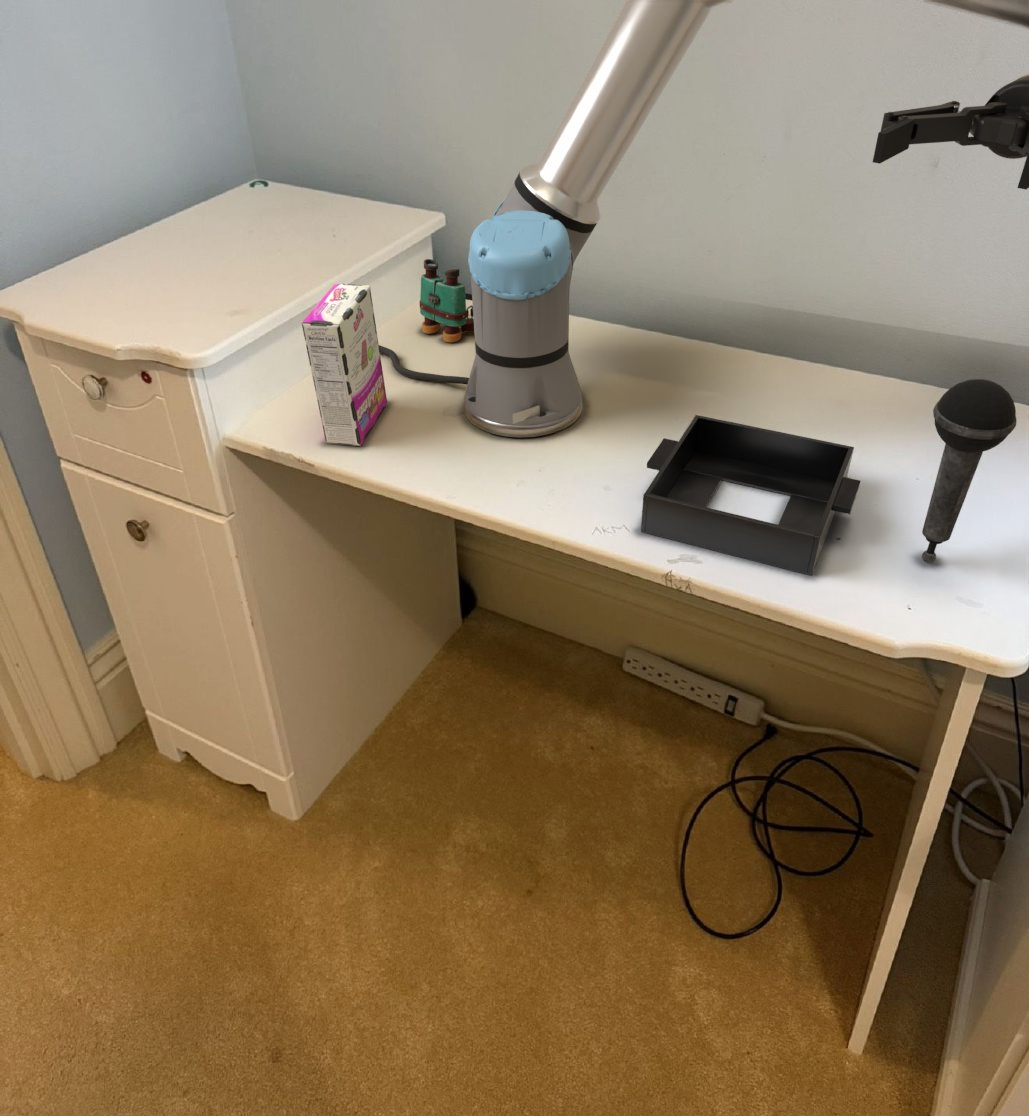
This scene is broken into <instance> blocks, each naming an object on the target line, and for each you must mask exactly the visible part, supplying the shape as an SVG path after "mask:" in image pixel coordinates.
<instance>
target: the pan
mask: <svg viewBox="0 0 1029 1116" xmlns="http://www.w3.org/2000/svg"><path fill="white" fill-rule="evenodd" d="M854 449H855V447H854V446H851V445H850V446H849V445H846V444H840V443H837V442H831V441H826V440H821V439H816V438H812V437H806V436H801V435H797V434H792V433H787V432H782V431H776V430H772V429H767V428H764V427H763V428H762V427H758V426H754V425H748V424H744V423H739V422H734V421H729V420H728V421H727V420H723V419H719V418H713V417H708V416H704V415H698V414H695V416H693V418H692V420H691V421H690V423H689V425H688V426H687V428H686V429H685V430H684V432H683V434H682V435H681V437H680V438H679V440H674V439H669V438H665V437H664V438H663V439H662V440H661V441H660V443H659V445H658V446H657V448H656V449H655V451H653V453H652V455H651V456H650V458H649V459H648V461H647V462H646V469H650V470H655V471H657V474H656V475H655V477H654V478H653V480H652V481H651V483H650V484H649V486H647V488H646V490H645V492H644V493H643V494H642V495H643V496H642V508H641V509H642V511H641V525H640V532H641V533H644V534H648V535H652V536H656V537H660V538H664V539H667V540H672V541H676V542H680V543H684V544H686V545H691V546H695V547H699V548H703V549H706V550H710V551H714V552H719V553H722V554H726V555H730V556H734V557H738V558H742V559H745V560H749V561H754V562H757V563H761V564H764V565H769V566H773V567H777V568H781V569H783V570H787V571H791V572H795V573H799V574H804V575H807V576H813V573H814V571H815V568H816V565H817V563H818V560H819V557H820V555H821V552H822V549H823V546H824V544H825V540H826V538H827V535H828V533H829V530H830V527H831V524H832V521H833V519H834V516H835V513H836V512H838V513H842V514H847V515H850V514H851V512H852V510H853V506H854V503H855V501H856V499H857V495H858V492H859V489H860V486H861V482H862V481H861V480H859V479H854V478H849V477H848V475H849V470H850V466H851V463H852V458H853V454H854ZM721 481H724V482H728V483H733V484H737V485H741V486H744V487H745V486H746V487H751V488H755V489H759V490H763V491H768V492H771V493H776V494H781V495H785V496H789V499H788V501H787V504H786V506H785V508H784V511H783V512H782V515H781V517H780V520H779V521H778V524H777V523H773V522H769V521H765V520H761V519H756V518H752V517H748V516H745V515H740V514H736V513H732V512H727V511H724V510H719V509H715V508H710V507H707V506H708V505H709V502H710V500H711V499H712V497H713V496H714V493H715V492H716V490H717V488H718V486H719V484H720V482H721Z"/></svg>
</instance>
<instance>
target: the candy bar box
mask: <svg viewBox="0 0 1029 1116" xmlns="http://www.w3.org/2000/svg"><path fill="white" fill-rule="evenodd" d="M371 292H372V291H371V285H368V284H366V285H364V284H352V283H351V284H349V283H347V284H345V283H334V284H333V285H332V286H331V288H330V289H329V290H328V291H327V292H326V293H325V294H324V296H323V297H322V298H321V299H320V300H319V301H318V303H317V304H316V305H315V306H314V307H313V308H312V309H311V310H310V312H309V313H308V314H307V315H306V317H304V318H303V320H302V321H301V322H300V323H301V327H302V332H303V337H304V341H305V342H304V343H305V346H306V353H307V357H308V363H309V367H310V371H311V372H310V373H311V376H312V380H313V385H314V391H315V397H316V400H317V401H316V402H317V405H318V410H319V415H320V420H321V425H322V429H323V430H322V431H323V436H324V440H325V443H326V444H329V445H339V446H341V445H342V446H351V447H361V446H362V445H363V443H364V442H365V440H366V439H367V437H368V435H369V434H370V433H371V430H372V429H373V427H374V425H375V424H376V422H377V420H378V419H379V417H380V416H381V414H382V412H383V411H384V409H385V407H386V406H387V405H388V399H387V392H386V386H385V377H384V372H383V365H382V360H381V359H382V357H381V353H380V351H379V345H380V344H379V337H378V331H377V325H376V318H375V317H376V316H375V311H374V310H375V309H374V304H373V298H372V297H373V296H372V293H371Z"/></svg>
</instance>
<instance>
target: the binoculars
mask: <svg viewBox="0 0 1029 1116" xmlns="http://www.w3.org/2000/svg"><path fill="white" fill-rule="evenodd" d="M438 269H439V263H438V262H437V261H436V260H434V259H431V258H426V259H424V260H423V270H425V273H424V274H422V275H421V277H420V299H419V313H420V315H421V316H423V317H424V321H423V322H422V324H421V331H422V333H424V334H430V335H431V334H435V333H437V332H438V331H440V330H441V328H442V325H444V326H445V329H444V330H442V340H443V341H444V342H446V343H454V342H457V341H459V340H461V338H462V333H466V332H474V318H473V304H472V305H471V304H470V305H469V306H468V307H467V301H472V293H468V292H466V287H465V284H464V283H462V282H459V280H458V279H459V277H460V268H453V269H449V270H445V271H444V276H445V279H446V280H444V279H443V277H442V276H440V275H438V274H437V272H438V271H437V270H438ZM469 309H470V310H469ZM469 312H470V313H469ZM469 315H470V317H469Z"/></svg>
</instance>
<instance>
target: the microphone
mask: <svg viewBox="0 0 1029 1116" xmlns="http://www.w3.org/2000/svg"><path fill="white" fill-rule="evenodd" d="M932 413H933V415H932V416H933V419H934V427H935V430H936V432H937V435H938V437H940V439H941V440H942V442H943V443H945V445H944V448H943V452H942V456H941V460H940V464H939V467H938V470H937V474H936V478H935V482H934V486H933V489H932V493H931V495H930V496H931V497H930V501H929V504H928V508H927V511H926V516H925V519H924V523H923V527H922V530H921V532H922V535H923V537H924V538H925V540H926V541H927V542H929V543H928V545H927V549H926V550H924V551H923V552H922V554H921V559H922V561H923V562H924V563H926V564H931V563H934V562H935V561H936V559H937V554H936V549H937V546H938V545H940V544H943V543H944V542H948V541H949V540H950V539H951V537H952V534H953V531H954V529H955V527H956V524H957V521H958V519H959V515H960V513H961V511H962V507H963V505H964V504H965V503H964V502H965V500H966V498H967V495H968V492H969V490H970V486H971V484H972V481H973V479H974V477H975V474H976V471H977V469H978V466H979V463H980V461H981V458H982V456H983V453H984V452H986V451H989V450H991V449H994V448H995V447H997V446H999V445H1000V444H1001V443H1003V442H1004V441H1005V440H1006V439H1007V437H1008V436H1009V435H1010V434H1011V433H1012V432H1013V431H1014V430H1015V429H1016V426H1017V412H1016V405H1015V402H1014V399H1013V398H1012V396H1011V394H1010V393H1009V391H1007V389H1006V388H1004V387H1003V386H1002V385H1001V384H998V383H997V382H994V381H992V380H989V379H984V378H983V379H982V378H972V379H967V380H965V381H961V382H958V383H956V384H955V385H953V386H951V387H950V388H949V389H948V390H947V391H946V392H944V393H943V395H942V396H941V397H940V399H939V400H938V401H937V402H936V404H935V405H934V407H933V409H932Z"/></svg>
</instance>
